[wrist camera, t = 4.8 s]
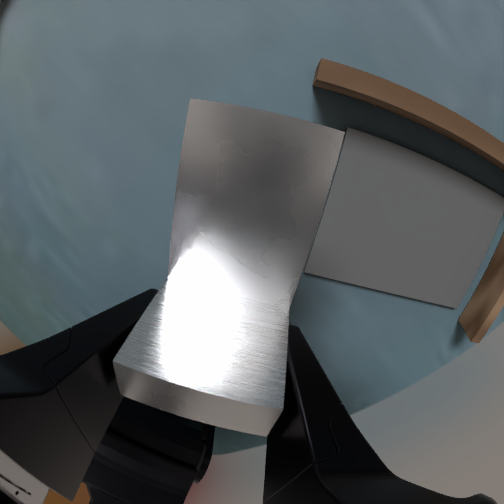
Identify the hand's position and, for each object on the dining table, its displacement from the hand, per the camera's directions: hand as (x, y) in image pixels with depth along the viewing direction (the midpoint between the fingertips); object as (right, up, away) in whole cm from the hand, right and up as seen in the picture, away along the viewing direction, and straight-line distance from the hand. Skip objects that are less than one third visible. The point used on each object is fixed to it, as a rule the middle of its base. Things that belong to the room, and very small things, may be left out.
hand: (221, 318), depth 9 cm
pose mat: (+12, +4, +9) cm, 15 cm away
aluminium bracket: (+1, +3, 0) cm, 3 cm away
